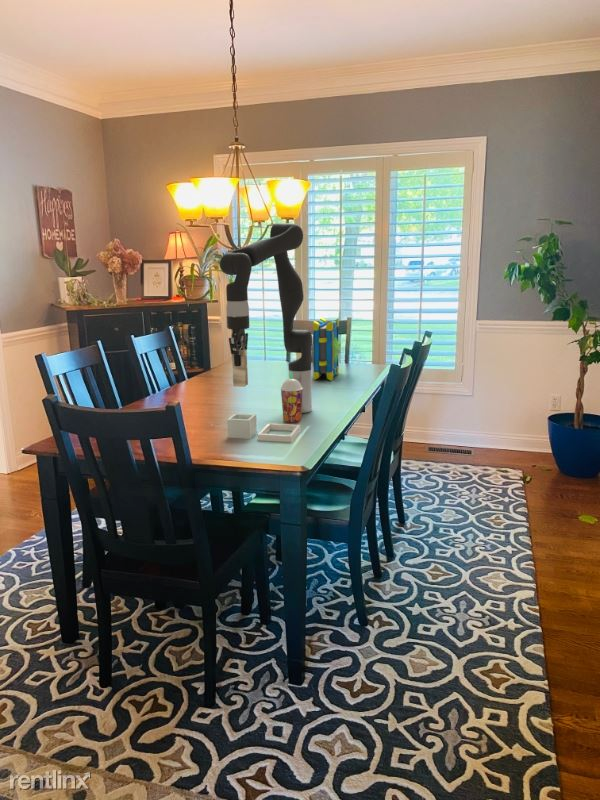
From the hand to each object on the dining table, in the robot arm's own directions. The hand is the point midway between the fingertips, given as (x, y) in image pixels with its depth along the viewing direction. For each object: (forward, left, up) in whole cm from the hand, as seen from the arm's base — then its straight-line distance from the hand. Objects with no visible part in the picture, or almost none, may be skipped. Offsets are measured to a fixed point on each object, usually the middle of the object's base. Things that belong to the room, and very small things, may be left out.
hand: (239, 364), depth 201 cm
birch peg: (0, 0, -7) cm, 7 cm away
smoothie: (-21, +13, -26) cm, 36 cm away
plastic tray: (-2, +13, -26) cm, 29 cm away
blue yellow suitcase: (-111, +10, -26) cm, 114 cm away
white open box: (0, 0, -26) cm, 26 cm away
